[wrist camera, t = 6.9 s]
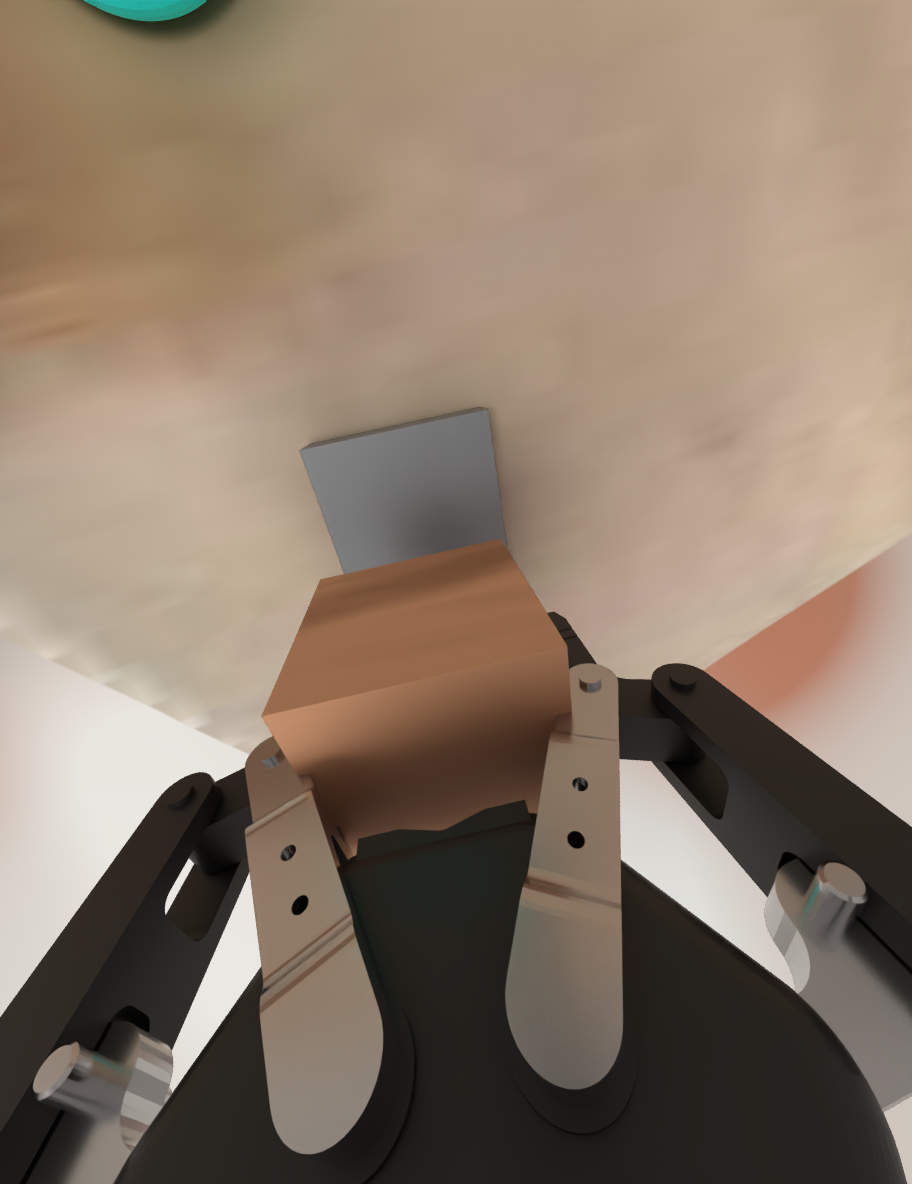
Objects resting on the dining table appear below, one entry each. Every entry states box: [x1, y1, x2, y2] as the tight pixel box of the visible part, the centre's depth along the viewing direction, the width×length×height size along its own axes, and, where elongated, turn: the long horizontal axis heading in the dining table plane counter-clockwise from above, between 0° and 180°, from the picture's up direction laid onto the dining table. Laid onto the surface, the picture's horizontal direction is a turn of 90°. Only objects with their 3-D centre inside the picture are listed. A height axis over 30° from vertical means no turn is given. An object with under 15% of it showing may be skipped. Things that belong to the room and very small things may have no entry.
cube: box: [261, 539, 572, 856], centre depth 12 cm, size 6×6×6 cm
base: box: [299, 407, 507, 574], centre depth 25 cm, size 12×10×3 cm
